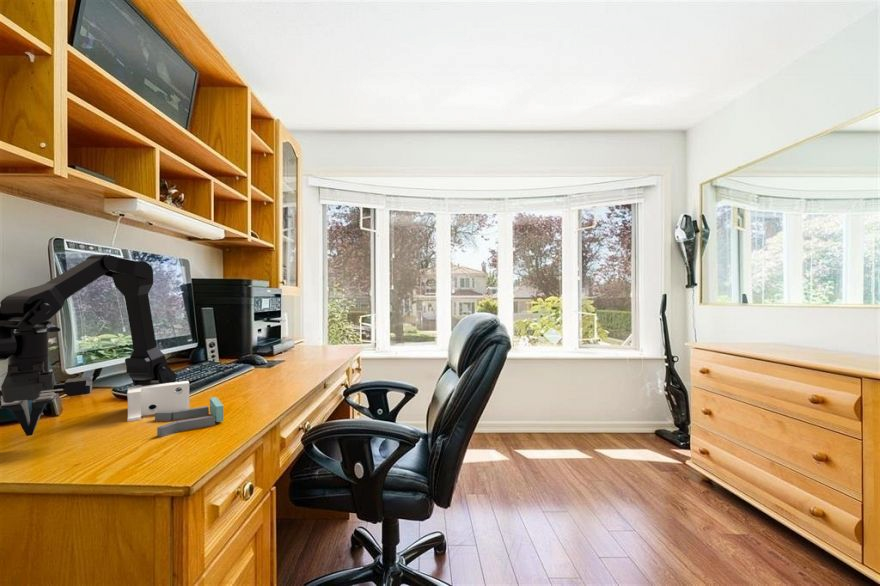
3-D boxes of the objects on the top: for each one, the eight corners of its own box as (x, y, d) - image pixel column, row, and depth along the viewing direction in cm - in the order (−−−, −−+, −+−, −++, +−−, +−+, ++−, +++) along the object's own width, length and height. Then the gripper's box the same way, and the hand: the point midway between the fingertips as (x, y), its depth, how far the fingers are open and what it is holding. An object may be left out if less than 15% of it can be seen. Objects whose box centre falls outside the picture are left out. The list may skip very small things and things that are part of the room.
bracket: (128, 415, 103) (127, 422, 97) (128, 387, 103) (127, 393, 97) (188, 406, 111) (190, 412, 105) (188, 380, 111) (190, 385, 105)
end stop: (209, 411, 104) (209, 397, 104) (216, 410, 105) (216, 397, 105) (216, 422, 96) (216, 406, 96) (223, 420, 97) (223, 405, 97)
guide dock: (154, 420, 99) (154, 411, 99) (206, 411, 106) (206, 404, 106) (157, 438, 87) (157, 428, 87) (216, 427, 93) (216, 418, 93)
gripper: (-60, 368, 69) (-58, 460, 69) (86, 356, 80) (87, 436, 80) (-37, 359, 77) (-36, 441, 78) (91, 350, 89) (92, 421, 89)
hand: (29, 435), depth 81 cm, fingers closed
